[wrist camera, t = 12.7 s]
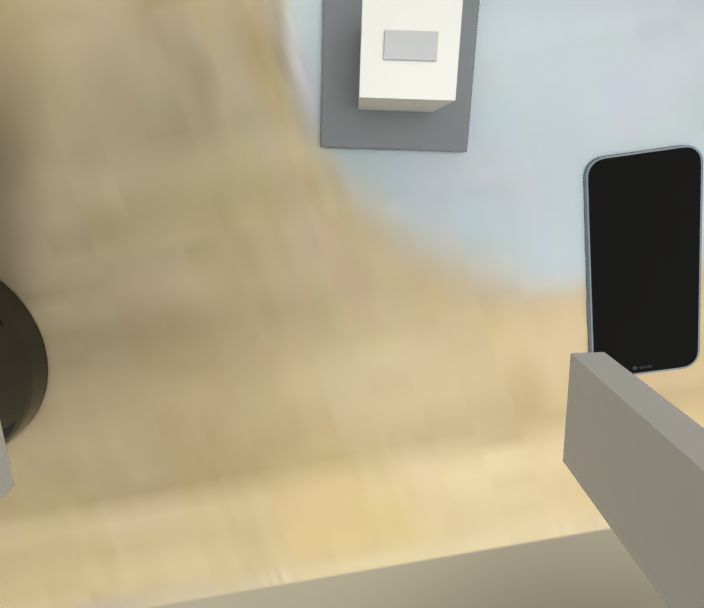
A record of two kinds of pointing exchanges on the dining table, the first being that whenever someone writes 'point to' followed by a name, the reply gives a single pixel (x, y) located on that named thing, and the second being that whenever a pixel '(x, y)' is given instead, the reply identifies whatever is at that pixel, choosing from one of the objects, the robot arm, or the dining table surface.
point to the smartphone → (644, 257)
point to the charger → (409, 54)
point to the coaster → (387, 126)
